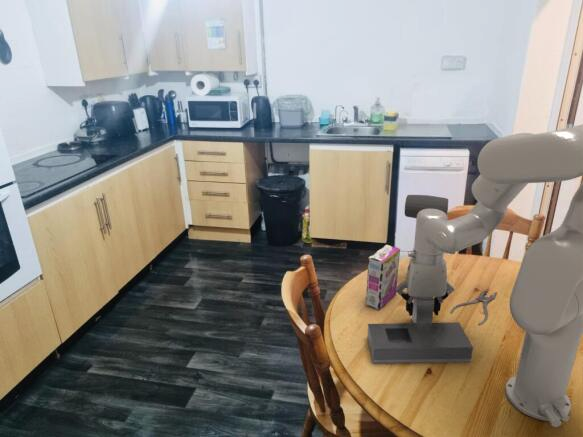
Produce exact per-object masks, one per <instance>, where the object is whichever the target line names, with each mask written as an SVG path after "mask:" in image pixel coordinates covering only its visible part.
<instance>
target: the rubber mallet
mask: <svg viewBox="0 0 583 437" xmlns="http://www.w3.org/2000/svg"><path fill="white" fill-rule="evenodd" d="M423 209H438V210H441V211H443V212H444V213H446V215H447V216H448V209H449V199H448V198H447V197H440V196H435V195H428V194H427V195H426V194H424V195H423V194H407V196H406V198H405V204H404V216H405V217H406V218H410V219H411V218H412V219H417V214H418V213H419V212H420V211H421V210H423Z"/></svg>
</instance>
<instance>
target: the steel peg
mask: <svg viewBox="0 0 583 437" xmlns="http://www.w3.org/2000/svg"><path fill="white" fill-rule="evenodd" d="M434 301H435V300H434V297H415V298H414V299H413V301H412V302H413V315H412V316H411V321H412V323H433V318H434V312H433V310H434Z"/></svg>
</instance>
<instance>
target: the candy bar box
mask: <svg viewBox="0 0 583 437" xmlns="http://www.w3.org/2000/svg"><path fill="white" fill-rule="evenodd" d="M400 253H401V248H400V247H397V246H392V245H389V244H385V245H384V246H382V247H381V248H380V249H378V250H377V251H375V252H374V253H373V254H372V255H370V256H369V257H368V259H367V260H368V262H367V264H368V265H367V277H366V278H367V280H366V293H365V294H366V298H365V306H368V307H369V308H372V309H375V310H377V311H380V310H382V308H383V307H384V306H385V305H387V303H389V302H390V300H392V299H393V298H394V297H395V296H396V295H397V292H396V289H395V288H396V287H397V286H398V277H399V266H400Z"/></svg>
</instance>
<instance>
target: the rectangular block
mask: <svg viewBox="0 0 583 437" xmlns="http://www.w3.org/2000/svg"><path fill="white" fill-rule="evenodd" d="M366 337H367V342H368V346H369V347H368V348H369V350H370V351H369V352H370V354H371V359H372V363H373V364H416V363H417V364H420V363H423V364H424V363H425V364H426V363H429V364H430V363H433V364H434V363H435V364H437V363H471V362H472V357H473V351H474V346H473V344H472V342H471V340H470V339H469V337H468V336H467V333H466V332H465V330H464V328H463V326H462V325H461V323H460V322H459V321H457V322H455V321H453V322H432V323H413V322H403V323H400V322H398V323H397V322H396V323H392V322H391V323H368V324H367V336H366Z"/></svg>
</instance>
